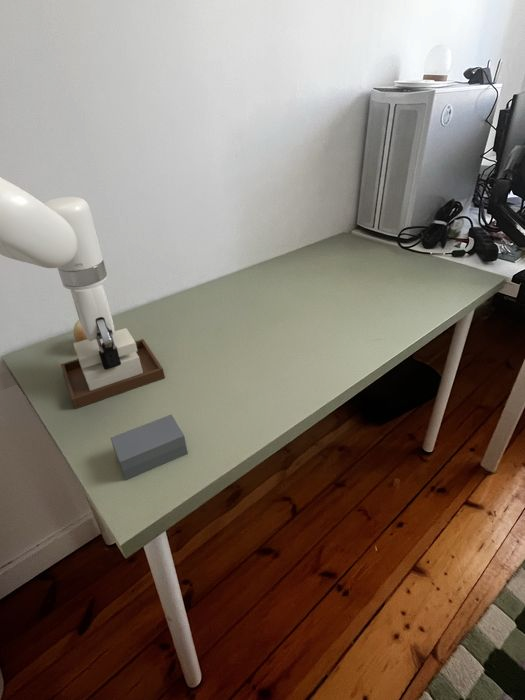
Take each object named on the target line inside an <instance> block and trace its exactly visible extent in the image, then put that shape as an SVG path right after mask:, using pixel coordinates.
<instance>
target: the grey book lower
mask: <svg viewBox="0 0 525 700" xmlns="http://www.w3.org/2000/svg"><path fill="white" fill-rule="evenodd" d="M112 447H113V446H112ZM113 451H114V453H115V450H114V447H113ZM186 455H188V446H187V444H186V445H184V446H181V447H179V448H177V449H174V450H172V451H169V452H167V453H165V454H162V455H160V456H158V457H155V458H153V459H150V460H148V461H146V462H143V463H141V464H139V465H136V466H134V467H131V468H129V469H127V470H124V471H123V470H122V468H121V465H120V463H119V460H118V458H117V455H116V453H115V456H116V459H117V461H118V464H119V467H120V469H121V472H122V475H123V477H124V479H125V481H128V480H130V479H132V478H134V477H137V476H139V475H141V474H143V473H146V472H148V471H151V470H152V469H156V468H158V467H160V466H162V465H164V464H166V463H169V462H171V461H174V460H176V459H178V458H181V457H183V456H186Z"/></svg>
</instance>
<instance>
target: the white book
mask: <svg viewBox="0 0 525 700" xmlns="http://www.w3.org/2000/svg"><path fill="white" fill-rule="evenodd" d="M112 337H113V340H114V343H115V346H116V347H117V351H118V354H119V357H120V356H124V355H127V354H130V353H133V352H136V351H137V347H136V343H135V341H136V340H135V339H134V338H133V336H132V334H131V333H130V331H129V330H128V328H127V327H125V328H122V329H118V330H115V333H114V334H113V335H112ZM100 342H101V345H102V343H103V339H100ZM72 344H73V347H74V351H75V353H76V356H77V359H79V361H80V364H81V366H82V368H85V367H88V366H92V365H95V364H98V363H101V362H102V361H101V358H100V355H99V351H100V349H99V346H98V343H97V340H96V339H95V340H92V341H89V340H88V339H87V340H83V341H80V342H76V341H75V342H73V343H72Z"/></svg>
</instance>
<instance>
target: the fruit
mask: <svg viewBox="0 0 525 700" xmlns="http://www.w3.org/2000/svg"><path fill="white" fill-rule="evenodd" d="M73 338H74V341H75V343H76V342H80V341H83V340H87V337H86V335H85V333H84V331H83V328H82V326H81V324H80V321H79V319H78V320H77V321H76V322H75V324H74V326H73Z"/></svg>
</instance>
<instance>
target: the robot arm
mask: <svg viewBox="0 0 525 700" xmlns="http://www.w3.org/2000/svg"><path fill="white" fill-rule="evenodd" d="M98 238H99V237H98V234H97V231H96V227H95V222H94V219H93V215H92V211H91V208H90V205H89V203H88V202H87V200H85V199H84V198H82V197H78V196H61V197H56V198H52V199H49V200H47V201H44V202H42V201H41V200H39V199H38V198H36V197H34V196H33V195H32V194H31V193H28V192H27V191H25V190H24V189H22V188H21V187H19V186H17V185H16V184H13V183H12V182H10V181H8V180H6V179H5V178H3V177H1V176H0V255H1V256H3V257H5V258H8V259H10V260H15V261H19V262H22V263H26V264H31V265H34V266H38V267H41V268H44V269H57V271H58V274H59V277H60V280H61V284H62V286H63V288H65V289H67V290H70V294H71V297H72V300H73V303H74V307H75V311H76V313H77V316H78V320H79V321H80V324H81V326H82V328H83V331H84V333H85V335H86V337H87V339H88V340H89V341H92V340H95V339H96V340H97V343H98V346H99V349H100V351H99V355H100V358H101V361H102V364H103V368H104V369H105V370H107V369H110V368H113V367H116V366H119V365H121V362H120V358H119V354H118V351H117V347H116V346H115V343H114V340H113V337H112V335H113V334H114V333H115V331H116V330H115V324H114V322H113V317H112V313H111V309H110V304H109V301H108V297H107V294H106V290H105V286H104V283H105V282H106V281H107V280H108V277H109V276H108V272H107V269H106V268H107V267H106V265H105V260H104V257H103V253H102V249H101V246H100V242H99V239H98ZM100 339H103V343H102V345H101V342H100Z"/></svg>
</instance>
